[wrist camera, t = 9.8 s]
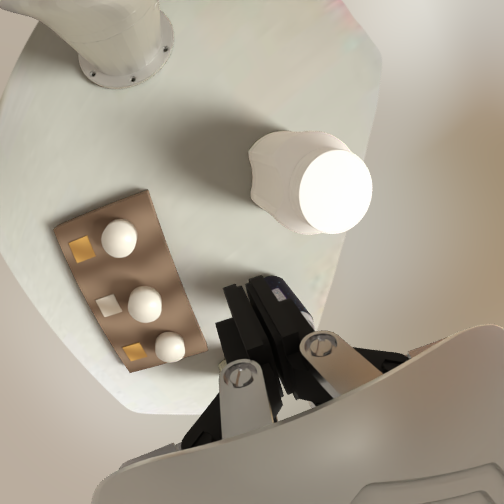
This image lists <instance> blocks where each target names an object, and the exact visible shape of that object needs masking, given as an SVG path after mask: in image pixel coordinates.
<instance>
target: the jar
mask: <svg viewBox="0 0 504 504" xmlns="http://www.w3.org/2000/svg"><path fill="white" fill-rule="evenodd" d="M248 155H249V161H250V164H251V168H252V187H251V199H252V200H253V201H254V202H255V203H256V204H257V205H258V206H259V207H261V208H262V209H264V210H266V211H267V212H268V213H269V214H271V215H272V216H273V217H274V218H275V219H276V220H277V221H278V222H279V223H280V224H281V225H283V226H284V227H285V228H287V229H289V230H291V231H293V232H296V233H300V234H307V235H311V234H319V233H322V232H323V233H328V234H336V233H341V232H344V231H347V230H349V229H350V228H352V227H353V226H355V225H356V224H357V223H358V222H359V221H360V220H361V219H362V217H363V216H364V214H365V213H366V211H367V209H368V207H369V204H370V201H371V196H372V180H371V176H370V173H369V170H368V168H367V166H366V165H365V163H364V162H363V161H362V160H361V159H360V158H359V157H358V156H357V155H355V154H354V153H352V152H351V151H350V150H349V148H348V147H347V146H346V145H345V144H344V143H343V142H342V141H341V140H340V139H338V138H337V137H335V136H333V135H331V134H328V133H325V132H320V131H304V132H291V131H278V132H273V133H270V134H267V135H265V136H263V137H262V138H260V139H259V140H258V141H257V142H255V143H254V145H253V146H252V147H251V148H250V150H249V151H248Z"/></svg>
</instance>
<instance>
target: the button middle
mask: <svg viewBox="0 0 504 504" xmlns="http://www.w3.org/2000/svg"><path fill="white" fill-rule="evenodd" d="M161 306H162V300H161V296H160V294H159V293H158V292H157V291H156V290H155V289H154V288H152V287H149V286H140V287H137V288H135V289H134V290H133V291H132V292H131V294H130V297H129V302H128V311H129V314H130V315H131V316H132V317H133V318H134V319H135V320H137V321H139V322H143V323H149V322H152V321H155V320H156V319H157V318H158V317H159V316H160V314H161Z"/></svg>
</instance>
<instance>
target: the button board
mask: <svg viewBox="0 0 504 504" xmlns="http://www.w3.org/2000/svg"><path fill="white" fill-rule="evenodd" d="M116 219H125V220H128V221H130V222H131V223H132V224H133V225H134V226H135V228H136V231H137V241H136V245H135V248H134V250H133V251H132V252H131V254H129V255H128V256H126V257H122V258H116V257H113V256H111V255H109V254H108V253H107V252H106V251H105V250H104V248H103V246H102V242H101V237H102V233H103V231H104V230H105V228H106V227H107V225H108V224H109V223H110V222H111V221H113V220H116ZM53 230H54V233H55V235H56V238H57V240H58V242H59V245H60V247H61V249H62V252H63V254H64V256H65V258H66V261H67V263H68V265H69V267H70V269H71V271H72V273H73V275H74V278H75V280H76V282H77V284H78V286H79V288H80V290H81V292H82V293H83V295H84V297H85V299H86V301H87V303H88V305H89V307H90V308H91V310H92V312H93V314H94V316H95V317H96V319H97V321H98V323H99V325H100V326H101V328H102V330H103V331H104V333H105V335H106V336H107V338H108V340H109V341H110V343H111V345H112V346H113V348H114V349H115V351H116V353H117V354H118V356H119V357H120V359H121V360H122V362H123V363H124V365H125V366H126V368H127V369H128V371H129V372H130V373H132V372H136V371H139V370H143V369H147V368H151V367H154V366H158V365H161V364H165V363H169V362H164V361H162V360H160V359H159V358H158V357H157V355H156V353H155V341H156V338H157V337H158V336H159V335H160V334H162V333H164V332H174V333H177V334H179V335H180V336H181V337H182V338H183V340H184V347H185V354H184V356H183V358H186V357H189V356H192V355H195V354H199V353H202V352H205V351H208V347H207V343H206V341H205V338H204V336H203V334H202V331H201V329H200V327H199V324H198V322H197V320H196V317H195V315H194V312H193V310H192V308H191V305H190V303H189V300H188V298H187V295H186V293H185V290H184V288H183V285H182V283H181V280H180V278H179V275H178V273H177V270H176V267H175V265H174V262H173V259H172V257H171V254H170V251H169V249H168V246H167V243H166V240H165V238H164V235H163V232H162V229H161V226H160V223H159V221H158V218H157V215H156V212H155V209H154V206H153V203H152V200H151V197H150V194H149V191H148V190H146V191H143V192H140V193H138V194H135V195H132V196H129V197H127V198H124V199H121V200H118V201H116V202H113V203H111V204H108V205H105V206H103V207H100V208H98V209H95V210H93V211H90V212H88V213H85V214H83V215H81V216H78V217H76V218H73V219H71V220H69V221H66V222H64V223H62V224H59V225H58V226H56V227H55V228H54V229H53ZM140 286H149V287H152V288H154V289H155V290H156V291H157V292H158V293H159V294H160V296H161V300H162V306H161V314H160V316H159V317H158V318H157V319H156V320H155V321H152V322H149V323H143V322H139V321H137V320H135V319H134V318H133V317H132V316H131V315H130V314H129V311H128V302H129V297H130V294H131V292H132V291H133V290H134V289H135V288H137V287H140Z"/></svg>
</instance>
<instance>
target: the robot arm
mask: <svg viewBox="0 0 504 504" xmlns="http://www.w3.org/2000/svg"><path fill="white" fill-rule="evenodd" d="M0 8H1V9H4V10H7V11H10V12H13V13H18V14H22V15H26V16H29V17H32V18H35V19H37V20H39V21H41V22H42V23H44V24H45V25H46V26H48V27H49V28H50V29H52V30H53V31H54V32H55V33H56V34H57V35H59V36H60V37H61V38H62V39H63V40H64V41H65V42H66V43H68V44H69V45H70V46H71V47H72V48H73V49H75V50H76V51H77V52H78V61H79V64H80V67H81V69H82V71H83V73H84V74H85V75H86V76H87V77H88V78H89V79H90V80H91V81H92V82H94V83H95V84H97V85H100V86H102V87H106V88H110V89H122V88H129V87H132V86H136V85H138V84H140V83H142V82H145V81H146V80H148V79H149V78H151V77H152V76H154V75H155V74H156V73H157V72H158V71H159V70H160V69H161V68H162V67H163V66H164V64H165V63H166V62H167V60H168V58H169V56H170V54H171V51H172V48H173V43H174V31H173V27H172V24H171V22H170V20H169V18H168V17H167V16H166V15H165V14H164V13H163V12H162V11H161V10H160V8H159V0H0ZM165 49H167V52H164V50H165ZM94 73H96V75H95V76H94V77H93V74H94ZM132 79H135V81H134V82H132ZM245 286H246V290H247V293H248V297H249V300H248V298H247V296H246V294H245V292H244V290H243V288H242V286H238V287H237V286H236V284H233V285H230V286H227V287H224V288H223V290H224V293H225V296H226V299H227V302H228V305H229V308H230V311H231V314H232V317H233V318H230V319H226V320H223V321H220V322H217V323H215V324H216V328H217V332H218V335H219V339H220V342H221V346H222V349H223V352H224V356H225V359H226V363H227V365H226V366H225V367H224V368H223V369H222V371H221V372H220V374H219V393H218V394H217V396H216V397H215V398H214V400H213V401H212V402H211V403H210V405H209V406H208V407H207V409H206V410H205V411H204V412H203V414H202V415H201V416H200V417H199V419H198V420H197V421H196V423H195V424H194V425H193V426H192V427H191V429H190V430H189V431H188V432H187V434H186V435H185V436H184V438H183V440H182V442H181V443H178V444H176V445H175V444H174V443H171V444H169V445H167V446H164V447H162V448H159V449H157V450H154V451H152V452H150V453H148V454H144V455H142V456H140V457H137V458H134V459H132V460H129V461H127V462H125V463H123V464H122V466H121V467H120V468H119V470H118V471H116V472H114V473H112V474H111V475H109V476H108V477H106V478H105V479H104V480H102V481H101V482H100V484H99V485H98V486H97V488H96V489H95V491H94V494H93V498H92V502H91V504H504V328H503V327H501V326H499V325H495V324H483V325H478V326H474V327H470V328H467V329H465V330H462V331H459V332H457V333H455V334H453V335H452V336H449V337H446V338H444V339H441V340H438V341H436V342H433V343H430V344H427V345H425V346H422V347H419V348H416V349H413V350H410V351H408V353H407V355H403V354H400V353H394V352H386V351H378V350H369V349H362V348H354V347H351V346H350V345H349V344H348V343H347V342H345V341H344V340H343V339H342V338H341V337H340V336H339V335H337V334H335V333H334V332H331V331H323V330H321V331H314V329H313V328H312V327H311V325H310V324H309V323H308V321H307V320H306V318H305V317H304V316H303V314H302V313H301V312H300V310H299V309H298V307H297V306H296V305H295V303H294V302H293V301H292V299H291V298H287V299H284V300H282V301H278V299H277V298H276V296H275V295H274V293H273V292H272V290H271V289H270V287H269V286H268V284H267V282H266V281H265V279H264V278H263V276H262V275H260V276H257V277H254V278H251V279H249V283H247V284H245ZM249 301H250V302H249ZM279 378H280V380H281V382H282V384H283V386H284V388H285V391H286V393H287V394H288V395H289V394H291V393H293V395H294V397H295V399H296V400H297V399H303V400H307V401H309V404H310V406H311V408H312V409H309V410H307V411H304V412H302V413H300V414H297V415H294V416H292V417H289V418H286V419H284V420H281V421H278V419H277V414H278V412H279V411H280V409H281V407H282V405H283V404H282V400H281V397H283V396H284V395H283V391H282V387H281V384H280V380H279Z"/></svg>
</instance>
